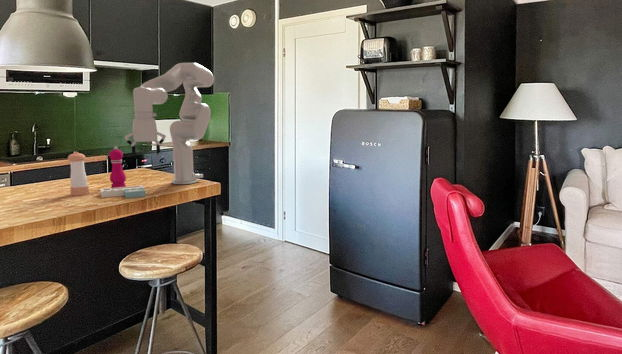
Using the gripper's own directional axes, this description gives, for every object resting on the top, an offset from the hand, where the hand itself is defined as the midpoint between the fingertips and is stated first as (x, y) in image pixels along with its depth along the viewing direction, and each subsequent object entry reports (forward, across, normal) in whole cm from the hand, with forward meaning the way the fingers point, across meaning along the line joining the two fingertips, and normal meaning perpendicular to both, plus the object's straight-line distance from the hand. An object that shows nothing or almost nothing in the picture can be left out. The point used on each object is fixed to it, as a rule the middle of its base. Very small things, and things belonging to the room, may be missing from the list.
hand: (146, 154), depth 197 cm
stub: (+18, +6, +3) cm, 19 cm away
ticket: (+18, +11, -4) cm, 21 cm away
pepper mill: (+18, +13, -21) cm, 31 cm away
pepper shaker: (+18, +29, -11) cm, 36 cm away
